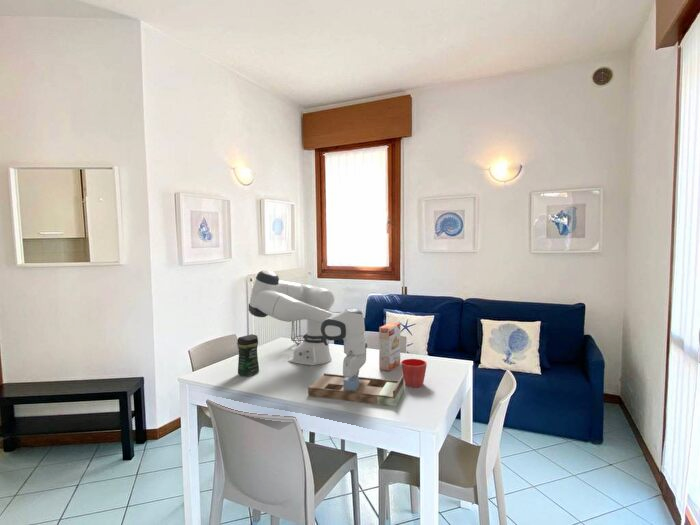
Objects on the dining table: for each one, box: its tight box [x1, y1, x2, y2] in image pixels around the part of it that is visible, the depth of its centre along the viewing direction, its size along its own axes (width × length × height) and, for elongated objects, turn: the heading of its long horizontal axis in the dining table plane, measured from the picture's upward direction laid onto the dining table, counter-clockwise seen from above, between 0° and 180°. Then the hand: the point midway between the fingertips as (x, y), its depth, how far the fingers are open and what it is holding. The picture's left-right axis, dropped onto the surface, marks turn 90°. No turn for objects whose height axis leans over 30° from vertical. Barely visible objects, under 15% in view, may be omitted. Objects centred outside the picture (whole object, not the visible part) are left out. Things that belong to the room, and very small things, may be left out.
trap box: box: [307, 373, 405, 407], centre depth 158 cm, size 36×17×6 cm, turn 71°
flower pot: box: [400, 358, 428, 388], centre depth 166 cm, size 11×11×10 cm
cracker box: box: [378, 321, 401, 372], centre depth 190 cm, size 14×6×21 cm, turn 150°
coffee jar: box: [236, 334, 260, 377], centre depth 184 cm, size 10×8×19 cm
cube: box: [343, 376, 360, 391], centre depth 155 cm, size 5×5×4 cm
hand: (355, 380), depth 159 cm, fingers closed
